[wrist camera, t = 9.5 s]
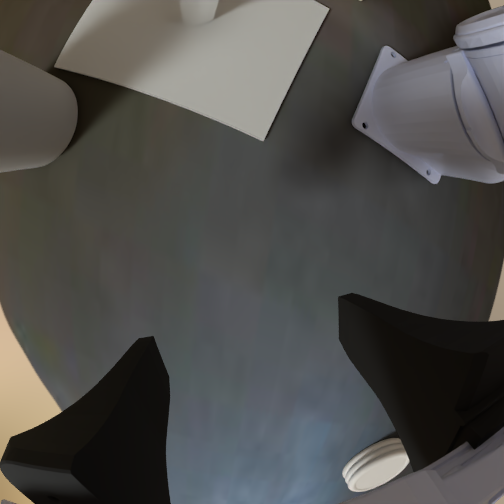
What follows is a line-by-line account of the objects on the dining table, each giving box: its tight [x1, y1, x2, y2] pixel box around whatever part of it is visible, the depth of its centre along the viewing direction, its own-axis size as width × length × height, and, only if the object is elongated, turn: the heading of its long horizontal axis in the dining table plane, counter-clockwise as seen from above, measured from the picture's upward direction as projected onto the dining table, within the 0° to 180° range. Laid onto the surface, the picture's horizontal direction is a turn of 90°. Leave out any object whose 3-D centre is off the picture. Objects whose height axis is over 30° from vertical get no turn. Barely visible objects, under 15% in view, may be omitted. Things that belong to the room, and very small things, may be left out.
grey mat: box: [54, 0, 329, 141], centre depth 15 cm, size 16×12×1 cm
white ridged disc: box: [343, 438, 409, 492], centre depth 32 cm, size 10×10×4 cm
